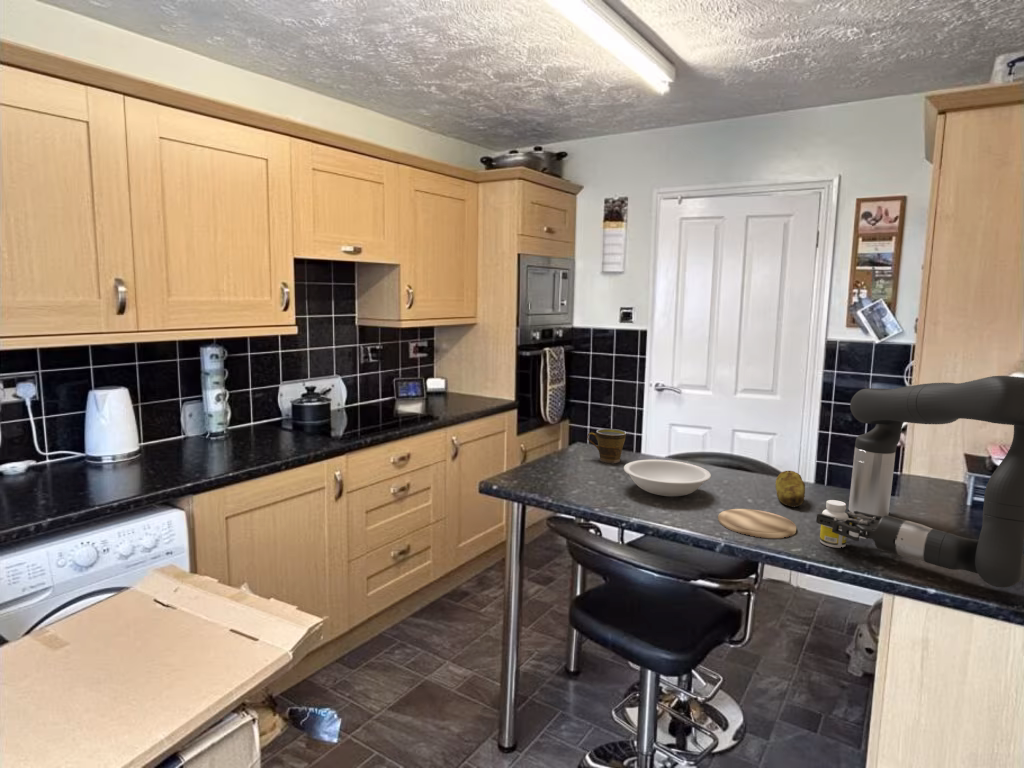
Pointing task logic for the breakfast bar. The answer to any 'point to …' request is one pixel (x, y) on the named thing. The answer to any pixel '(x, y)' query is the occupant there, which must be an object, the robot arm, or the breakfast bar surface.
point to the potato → (790, 488)
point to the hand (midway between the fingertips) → (823, 515)
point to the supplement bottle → (826, 533)
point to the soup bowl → (667, 476)
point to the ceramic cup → (609, 444)
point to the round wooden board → (757, 523)
